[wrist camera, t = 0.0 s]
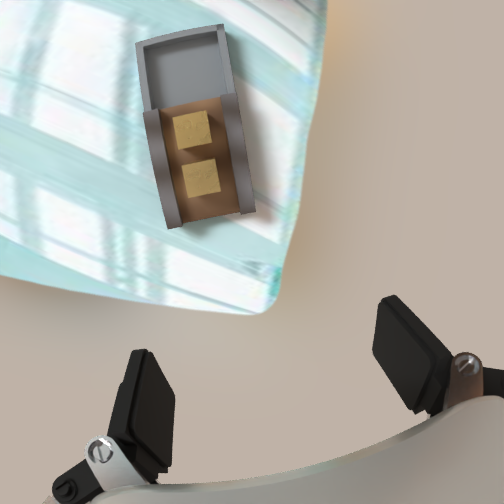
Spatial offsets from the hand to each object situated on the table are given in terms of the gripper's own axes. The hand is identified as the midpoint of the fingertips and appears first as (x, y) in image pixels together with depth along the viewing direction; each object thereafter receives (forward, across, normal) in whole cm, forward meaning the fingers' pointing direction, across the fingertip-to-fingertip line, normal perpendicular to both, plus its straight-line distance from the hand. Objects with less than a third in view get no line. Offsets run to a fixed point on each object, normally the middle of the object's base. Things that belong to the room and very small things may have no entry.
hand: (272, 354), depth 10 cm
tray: (+31, +3, -20) cm, 37 cm away
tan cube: (+29, +3, -10) cm, 31 cm away
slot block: (+31, +3, -6) cm, 32 cm away
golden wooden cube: (+29, +3, -4) cm, 30 cm away
